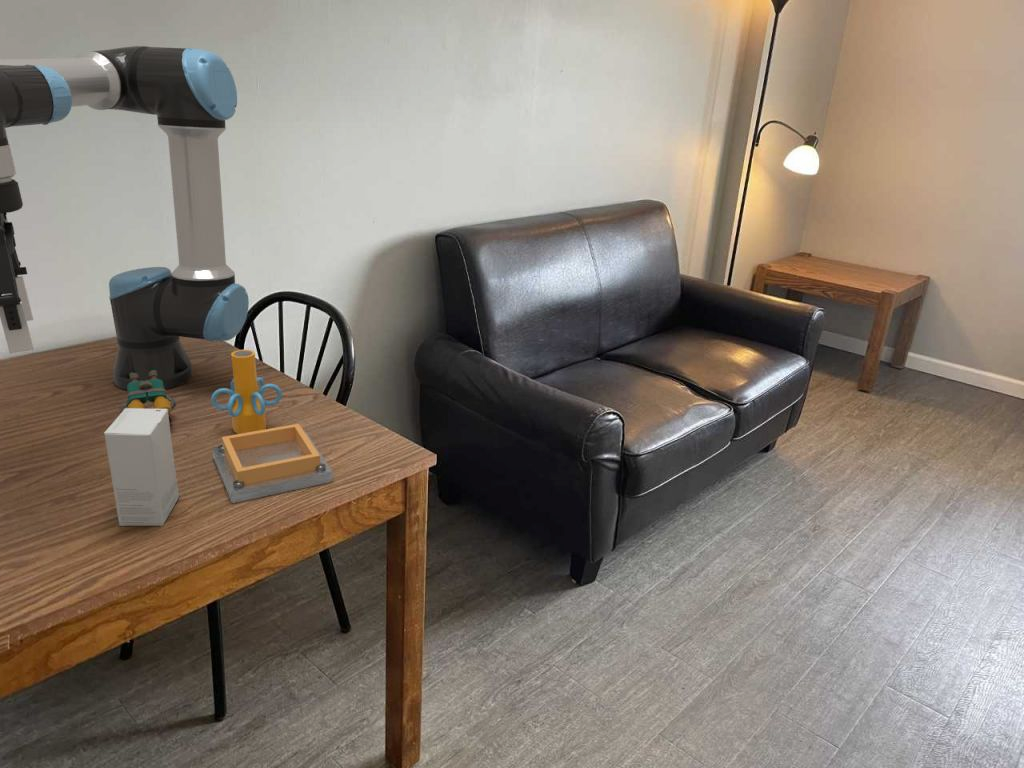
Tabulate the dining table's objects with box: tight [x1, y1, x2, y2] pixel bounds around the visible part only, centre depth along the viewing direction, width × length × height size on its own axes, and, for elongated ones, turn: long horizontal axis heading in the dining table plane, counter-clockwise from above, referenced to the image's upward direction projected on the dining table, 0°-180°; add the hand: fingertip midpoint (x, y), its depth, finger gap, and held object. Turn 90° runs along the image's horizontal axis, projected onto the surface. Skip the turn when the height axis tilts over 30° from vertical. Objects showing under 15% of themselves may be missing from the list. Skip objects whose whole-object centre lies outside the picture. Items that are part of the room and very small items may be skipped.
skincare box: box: [103, 407, 180, 527], centre depth 111 cm, size 8×7×16 cm
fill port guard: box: [221, 423, 321, 485], centre depth 126 cm, size 13×13×2 cm
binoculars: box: [119, 370, 177, 424], centre depth 139 cm, size 9×9×10 cm
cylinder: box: [210, 349, 283, 434], centre depth 138 cm, size 12×10×15 cm
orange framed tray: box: [212, 430, 334, 504], centre depth 126 cm, size 16×16×3 cm
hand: (22, 335), depth 106 cm, fingers open, 13 cm apart
